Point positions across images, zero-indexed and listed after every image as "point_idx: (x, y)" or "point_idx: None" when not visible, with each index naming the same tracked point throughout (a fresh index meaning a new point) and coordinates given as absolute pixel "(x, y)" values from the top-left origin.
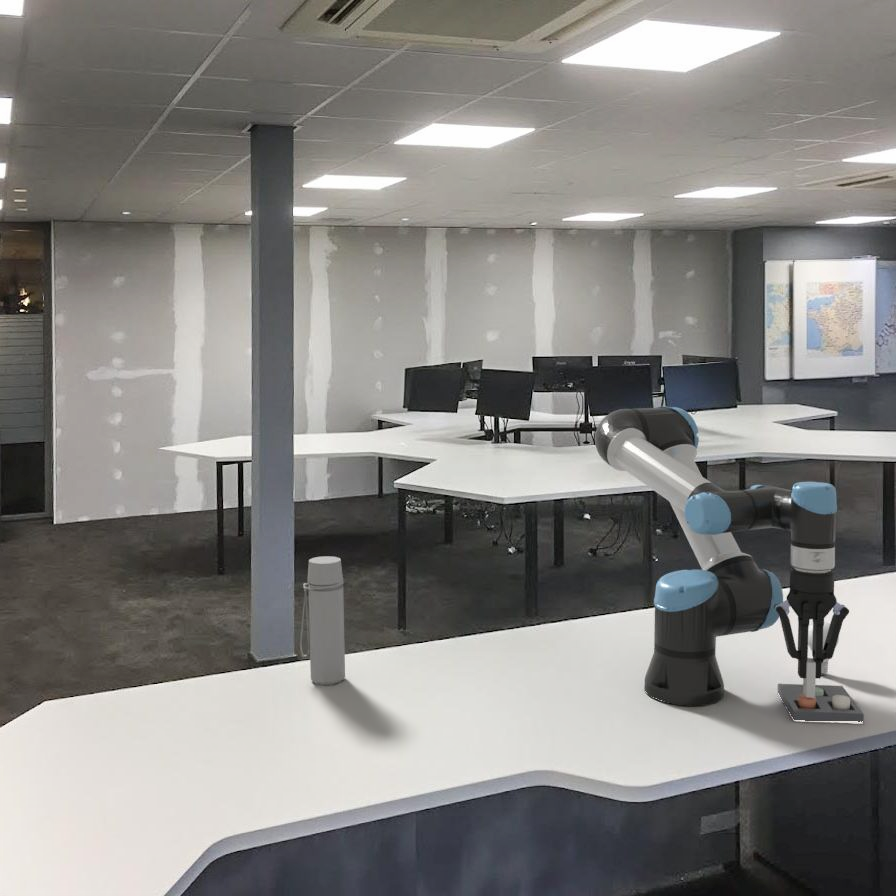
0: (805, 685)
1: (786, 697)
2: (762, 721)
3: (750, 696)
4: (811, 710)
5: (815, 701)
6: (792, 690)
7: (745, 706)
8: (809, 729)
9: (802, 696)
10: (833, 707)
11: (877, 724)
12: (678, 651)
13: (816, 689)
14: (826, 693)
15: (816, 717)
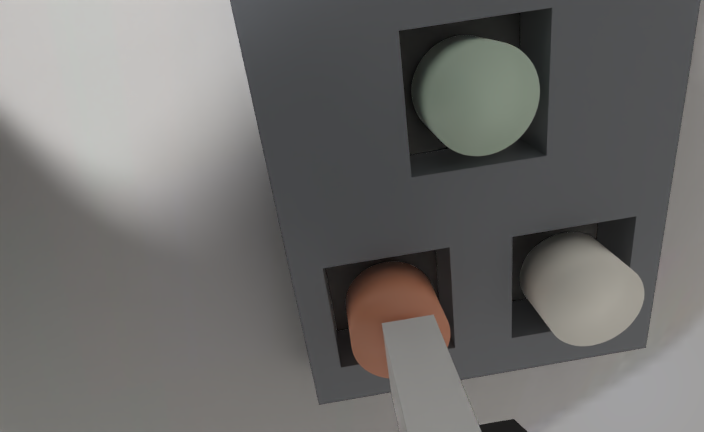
0: (399, 423)
1: (284, 239)
2: (178, 393)
3: (58, 72)
4: None
5: None
6: (328, 98)
7: (64, 244)
8: (375, 413)
9: (373, 345)
10: (526, 296)
11: (675, 295)
12: None
13: (494, 94)
14: (548, 98)
15: None
